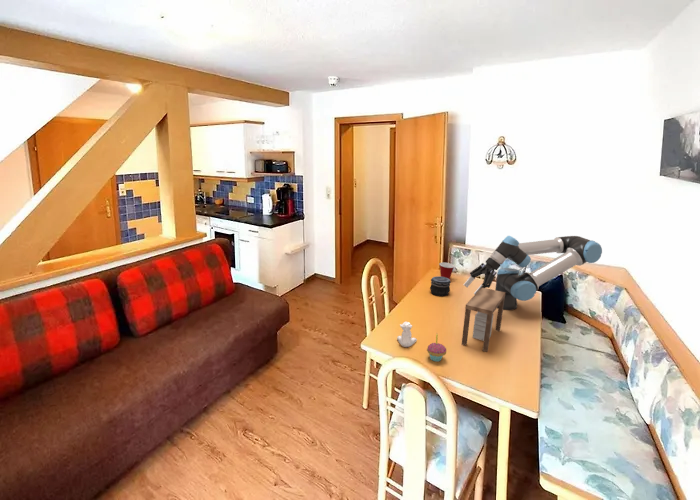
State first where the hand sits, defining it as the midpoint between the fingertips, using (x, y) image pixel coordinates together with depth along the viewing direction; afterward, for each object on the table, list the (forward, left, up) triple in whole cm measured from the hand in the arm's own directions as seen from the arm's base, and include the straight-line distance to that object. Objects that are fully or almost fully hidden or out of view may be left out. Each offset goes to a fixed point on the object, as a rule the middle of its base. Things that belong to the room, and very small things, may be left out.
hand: (470, 290), depth 212 cm
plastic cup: (-9, -58, -16) cm, 61 cm away
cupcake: (+33, +43, -16) cm, 56 cm away
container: (+4, -34, -16) cm, 38 cm away
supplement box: (+3, +25, -16) cm, 29 cm away
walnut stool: (+3, +25, -15) cm, 29 cm away
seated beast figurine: (+43, +29, -16) cm, 54 cm away
